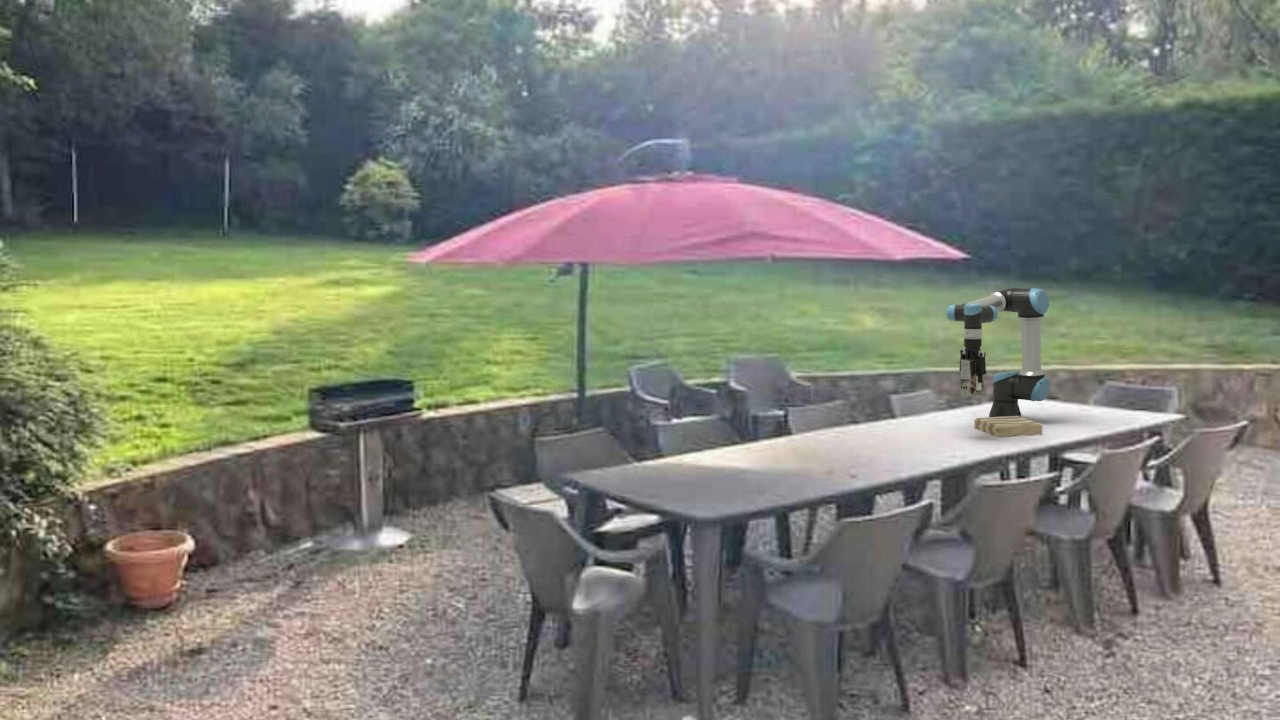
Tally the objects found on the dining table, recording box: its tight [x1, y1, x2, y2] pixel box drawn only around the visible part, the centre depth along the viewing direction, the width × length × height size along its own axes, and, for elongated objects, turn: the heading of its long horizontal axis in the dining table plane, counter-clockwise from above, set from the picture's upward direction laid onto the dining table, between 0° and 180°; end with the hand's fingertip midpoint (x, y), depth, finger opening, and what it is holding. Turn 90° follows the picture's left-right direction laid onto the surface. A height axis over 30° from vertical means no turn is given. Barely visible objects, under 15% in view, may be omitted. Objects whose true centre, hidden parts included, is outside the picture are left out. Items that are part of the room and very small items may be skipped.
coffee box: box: [960, 359, 985, 397], centre depth 495 cm, size 9×6×16 cm
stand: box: [974, 416, 1043, 438], centre depth 511 cm, size 22×22×5 cm
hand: (972, 388), depth 496 cm, fingers closed on coffee box, 7 cm apart
